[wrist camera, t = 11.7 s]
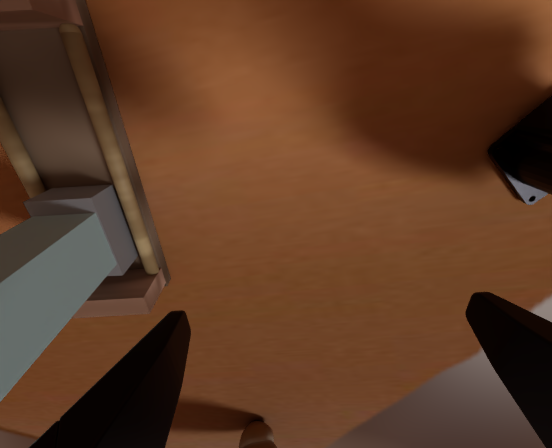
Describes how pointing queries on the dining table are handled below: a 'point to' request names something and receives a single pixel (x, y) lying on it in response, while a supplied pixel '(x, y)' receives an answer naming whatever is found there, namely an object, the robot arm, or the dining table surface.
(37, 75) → the rail track
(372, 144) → the dining table surface
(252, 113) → the dining table surface
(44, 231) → the carriage
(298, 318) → the dining table surface
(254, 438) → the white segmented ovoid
